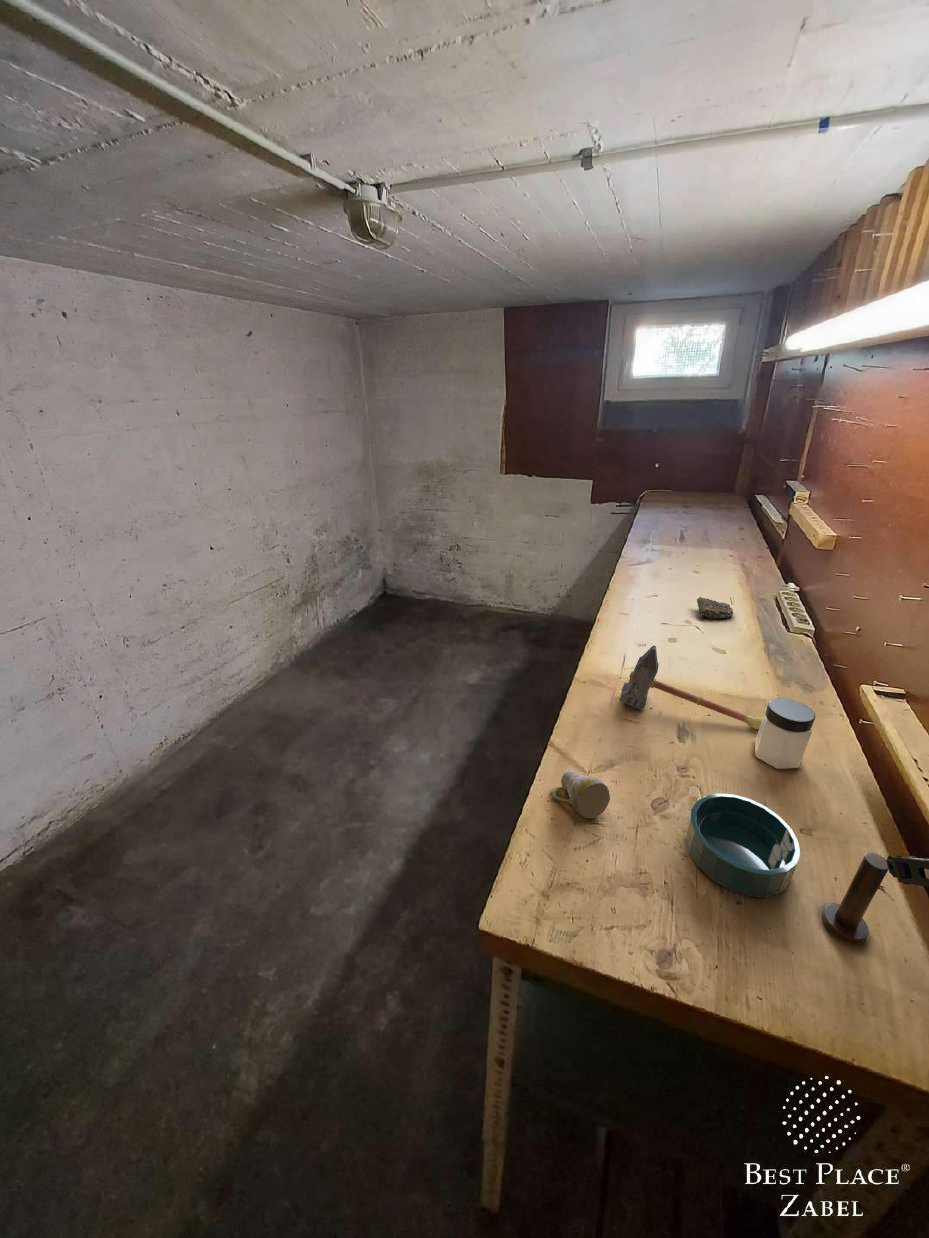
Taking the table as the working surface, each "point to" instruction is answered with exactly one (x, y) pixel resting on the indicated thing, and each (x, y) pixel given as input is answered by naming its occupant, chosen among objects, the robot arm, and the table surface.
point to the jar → (784, 733)
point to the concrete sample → (714, 608)
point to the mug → (584, 794)
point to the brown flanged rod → (856, 901)
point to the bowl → (742, 844)
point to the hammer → (668, 690)
